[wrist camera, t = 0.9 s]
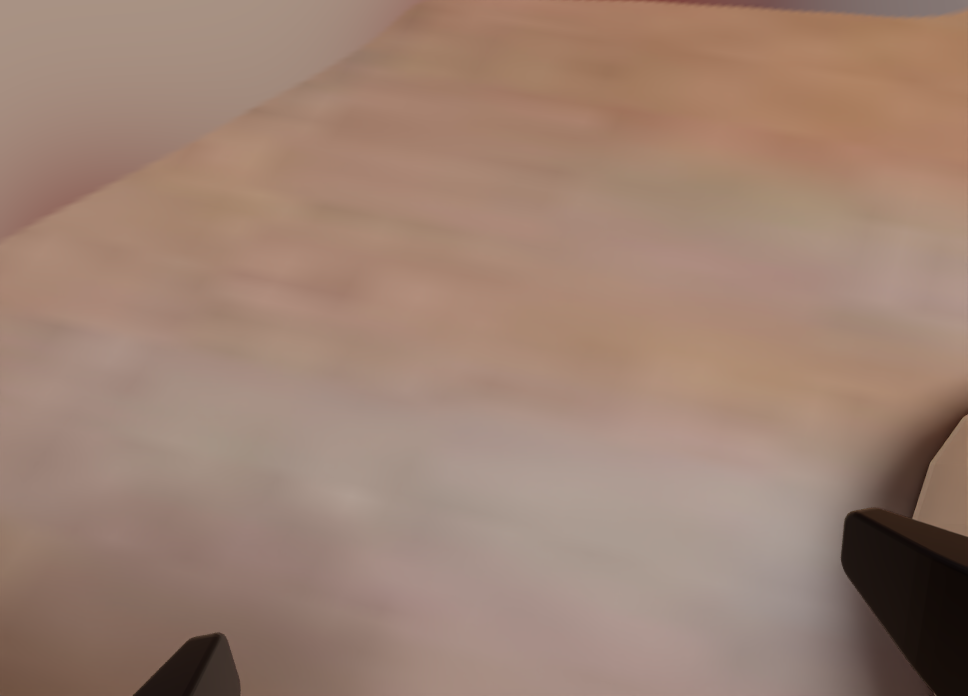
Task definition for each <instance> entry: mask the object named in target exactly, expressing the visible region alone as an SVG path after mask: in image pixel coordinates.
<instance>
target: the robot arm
mask: <svg viewBox="0 0 968 696" xmlns="http://www.w3.org/2000/svg"><path fill="white" fill-rule="evenodd" d="M841 562H842V566H843V569H844V571H845V573H846V575H847V577H848V578H849V579H850V581H851V582H852V584H853V585H854V586H855V588H856V589H857V591H858V592H859V593H860V595H861V596H862V598H863V599H864V600H865V602H866V603H867V605H868V606H869V607H870V609H871V610H872V612H873V613H874V614H875V616H876V617H877V619H878V620H879V621H880V623H881V624H882V626H883V627H884V628H885V630H886V631H887V633H888V634H889V635H890V637H891V638H892V640H893V641H894V642H895V644H896V645H897V647H898V648H899V649H900V651H901V652H902V654H903V655H904V656H905V658H906V659H907V660H908V662H909V663H910V664H911V666H912V667H913V668H914V670H915V671H916V672H917V673H918V674H919V676H920V677H921V678H922V679H923V681H924V682H925V683H926V684H927V685H928V687H929V688H930V689H931V690H932V691H933V693H934V694H935V695H936V696H968V537H967V536H964V535H961V534H958V533H954V532H951V531H948V530H945V529H942V528H939V527H936V526H933V525H930V524H927V523H924V522H920V521H917V520H914V519H911V518H908V517H905V516H902V515H899V514H896V513H893V512H890V511H886V510H883V509H880V508H867V509H861V510H856V511H852V512H850V513H848V514H847V516H846V518H845V521H844V530H843V540H842V550H841ZM240 691H241V690H240V680H239V676H238V673H237V669H236V666H235V663H234V660H233V656H232V653H231V650H230V646H229V643H228V640H227V638H226V637H225V635H224V634H222V633H212V634H207V635H202V636H197V637H193V638H191V639H189V640H188V641H187V642H186V643H185V644H184V645H183V646H182V647H181V648H180V649H179V650H178V651H177V652H176V653H175V654H174V655H173V656H172V657H171V658H170V659H169V660H168V661H167V662H166V663H165V664H164V665H163V666H162V667H161V668H160V669H159V670H158V671H157V672H156V673H155V674H154V675H153V676H152V677H151V678H150V679H149V680H148V681H147V682H146V683H145V684H144V685H143V686H142V687H141V688H140V689H139V690H138V691H137V692H136V693H135V694H134V695H133V696H240Z"/></svg>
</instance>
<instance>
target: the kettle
mask: <svg viewBox="0 0 968 696" xmlns="http://www.w3.org/2000/svg"><path fill="white" fill-rule="evenodd" d="M912 519H914V520H917V521H920V522H924V523H927V524H930V525H933V526H936V527H939V528H942V529H945V530H948V531H951V532H954V533H958V534H961V535H964V536H967V537H968V414H967V415H966V416H964V417H963V418H962V420H961V421H960V422H959V424H958V425H957V426H956V428H955V429H954V431H953V432H952V433H951V435H950V436H949V438H948V439H947V440H946V442H945V443H944V445H943V446H942V447H941V449H940V450H939V451H938V453H937V454H936V456H935V457H934V458H933V460H932V461H931V463H930V465H929V468H928V471H927V474H926V478H925V481H924V484H923V487H922V490H921V493H920V496H919V499H918V502H917V505H916V509H915V512H914V515H913V518H912ZM935 696H936V695H935Z"/></svg>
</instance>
